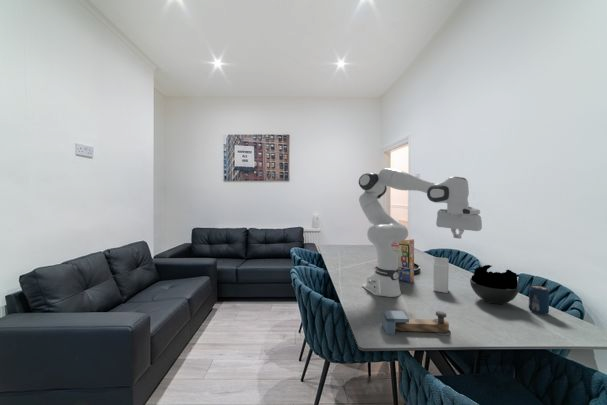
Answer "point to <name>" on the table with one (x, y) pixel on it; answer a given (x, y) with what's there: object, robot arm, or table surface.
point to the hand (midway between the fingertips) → (457, 238)
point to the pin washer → (444, 333)
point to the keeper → (392, 320)
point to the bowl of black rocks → (494, 285)
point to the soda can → (539, 300)
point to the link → (425, 324)
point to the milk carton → (441, 274)
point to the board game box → (405, 259)
